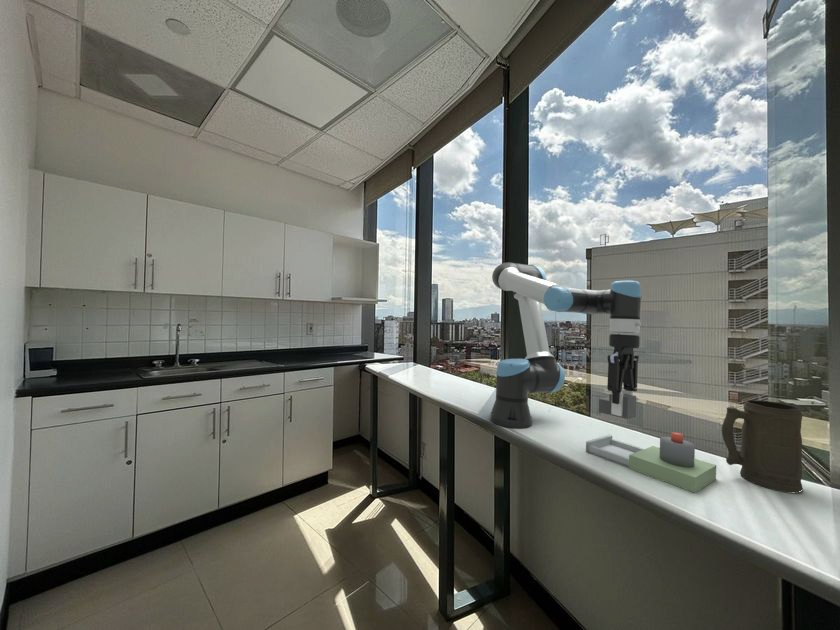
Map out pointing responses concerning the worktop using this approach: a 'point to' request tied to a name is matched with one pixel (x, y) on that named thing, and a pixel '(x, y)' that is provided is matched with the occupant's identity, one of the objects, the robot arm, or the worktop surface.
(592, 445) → the green slab with knob
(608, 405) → the squat charcoal block
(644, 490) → the worktop surface
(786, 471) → the beer stein
